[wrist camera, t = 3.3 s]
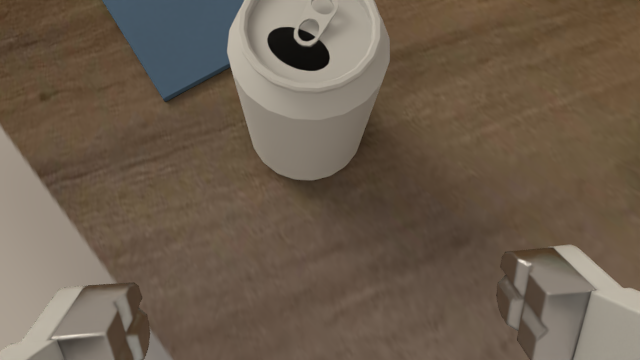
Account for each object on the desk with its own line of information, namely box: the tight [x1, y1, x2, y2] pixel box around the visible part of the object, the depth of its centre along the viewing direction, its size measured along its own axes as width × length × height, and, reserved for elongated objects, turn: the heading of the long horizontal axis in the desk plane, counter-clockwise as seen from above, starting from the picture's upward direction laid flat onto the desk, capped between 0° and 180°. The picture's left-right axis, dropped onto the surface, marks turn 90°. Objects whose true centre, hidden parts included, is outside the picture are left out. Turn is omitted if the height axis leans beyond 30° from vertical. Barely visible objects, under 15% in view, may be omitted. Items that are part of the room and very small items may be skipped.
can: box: [227, 0, 390, 180], centre depth 24 cm, size 8×8×12 cm
